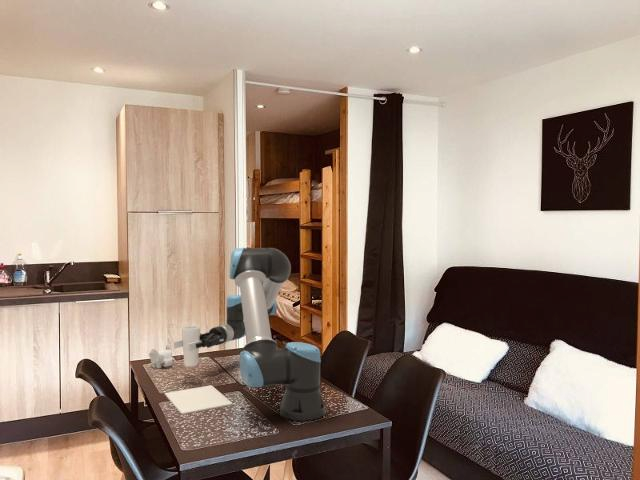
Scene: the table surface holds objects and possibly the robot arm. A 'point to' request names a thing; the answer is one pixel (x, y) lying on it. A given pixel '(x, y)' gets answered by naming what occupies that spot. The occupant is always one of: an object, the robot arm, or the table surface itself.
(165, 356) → the elephant figurine
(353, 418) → the table surface
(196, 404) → the felt placemat
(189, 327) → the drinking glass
